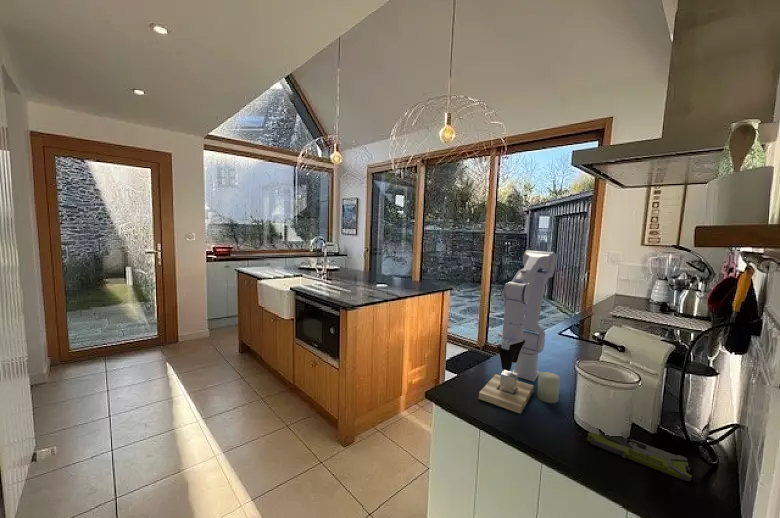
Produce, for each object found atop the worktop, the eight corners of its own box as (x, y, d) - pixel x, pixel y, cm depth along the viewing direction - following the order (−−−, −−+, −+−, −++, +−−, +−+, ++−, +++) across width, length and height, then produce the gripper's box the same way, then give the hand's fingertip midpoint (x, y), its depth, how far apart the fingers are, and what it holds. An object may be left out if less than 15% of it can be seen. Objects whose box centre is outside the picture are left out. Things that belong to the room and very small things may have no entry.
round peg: (537, 391, 104) (538, 370, 103) (558, 395, 101) (559, 373, 100) (537, 400, 98) (538, 378, 98) (558, 404, 96) (560, 382, 95)
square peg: (502, 390, 103) (504, 369, 102) (515, 395, 101) (517, 373, 100) (498, 395, 100) (500, 373, 99) (512, 400, 98) (514, 377, 97)
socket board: (495, 379, 110) (495, 374, 110) (533, 391, 104) (533, 385, 103) (478, 398, 97) (479, 392, 97) (520, 413, 90) (521, 406, 90)
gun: (683, 450, 80) (691, 489, 68) (592, 418, 91) (585, 447, 79) (684, 440, 79) (693, 478, 67) (593, 409, 90) (587, 437, 78)
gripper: (506, 314, 106) (503, 355, 108) (492, 324, 94) (488, 369, 96) (529, 319, 102) (525, 361, 104) (518, 329, 90) (513, 376, 92)
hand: (509, 365), depth 99 cm, fingers open, 7 cm apart
